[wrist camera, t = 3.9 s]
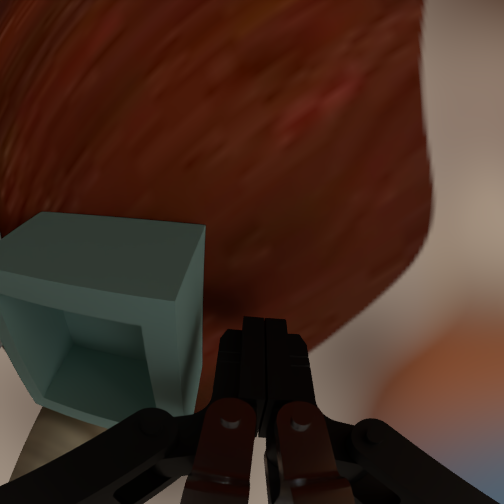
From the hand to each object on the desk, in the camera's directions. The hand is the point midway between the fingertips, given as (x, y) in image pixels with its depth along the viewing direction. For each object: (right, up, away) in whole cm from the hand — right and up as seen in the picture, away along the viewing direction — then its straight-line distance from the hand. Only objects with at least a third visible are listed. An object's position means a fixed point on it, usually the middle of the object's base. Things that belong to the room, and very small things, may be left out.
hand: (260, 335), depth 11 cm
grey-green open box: (-6, +1, +1) cm, 6 cm away
